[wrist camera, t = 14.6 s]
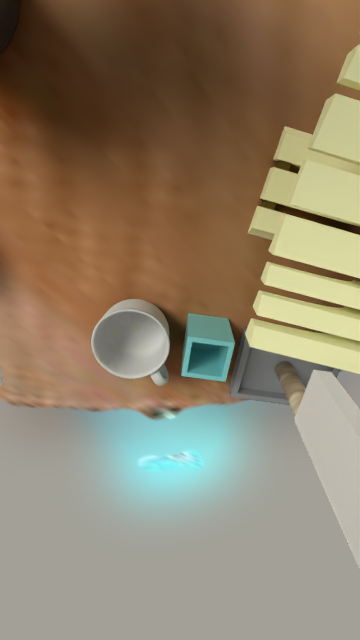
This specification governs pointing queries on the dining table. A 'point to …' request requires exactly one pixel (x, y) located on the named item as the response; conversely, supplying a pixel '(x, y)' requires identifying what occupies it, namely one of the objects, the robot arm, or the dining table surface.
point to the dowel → (290, 384)
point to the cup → (207, 347)
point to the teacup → (133, 341)
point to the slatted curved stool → (314, 236)
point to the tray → (266, 374)
